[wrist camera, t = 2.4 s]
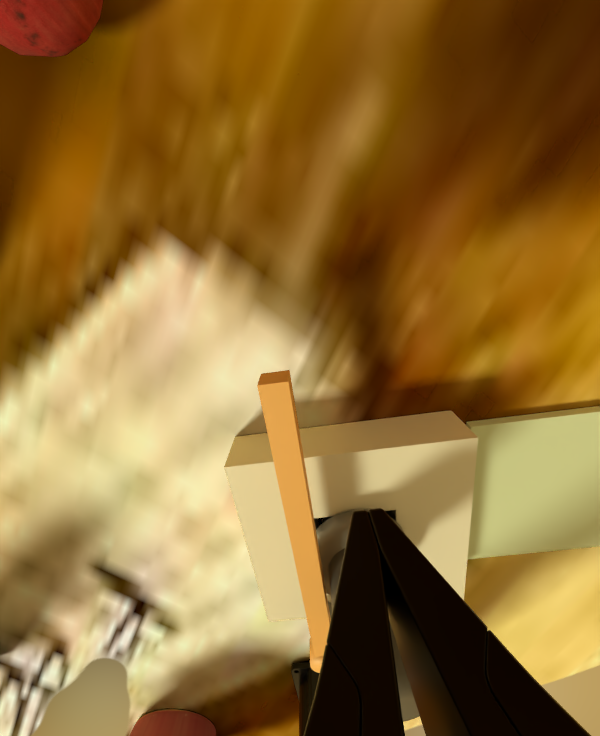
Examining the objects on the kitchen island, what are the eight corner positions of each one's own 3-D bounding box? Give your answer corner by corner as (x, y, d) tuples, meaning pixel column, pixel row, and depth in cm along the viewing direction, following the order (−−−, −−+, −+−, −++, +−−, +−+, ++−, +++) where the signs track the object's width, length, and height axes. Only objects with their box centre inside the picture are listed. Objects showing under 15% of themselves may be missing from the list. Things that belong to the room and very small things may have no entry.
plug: (392, 531, 22) (459, 729, 13) (314, 539, 23) (324, 739, 13) (389, 467, 20) (467, 650, 11) (303, 477, 20) (307, 663, 11)
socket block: (443, 562, 23) (476, 631, 19) (272, 579, 24) (266, 649, 20) (451, 410, 19) (497, 456, 14) (235, 436, 19) (216, 488, 15)
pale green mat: (615, 536, 22) (623, 544, 22) (457, 552, 23) (461, 559, 22) (661, 398, 18) (673, 402, 18) (466, 421, 19) (471, 426, 18)
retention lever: (341, 648, 19) (344, 672, 18) (311, 650, 19) (312, 675, 18) (298, 368, 12) (298, 380, 11) (252, 375, 12) (247, 386, 11)
